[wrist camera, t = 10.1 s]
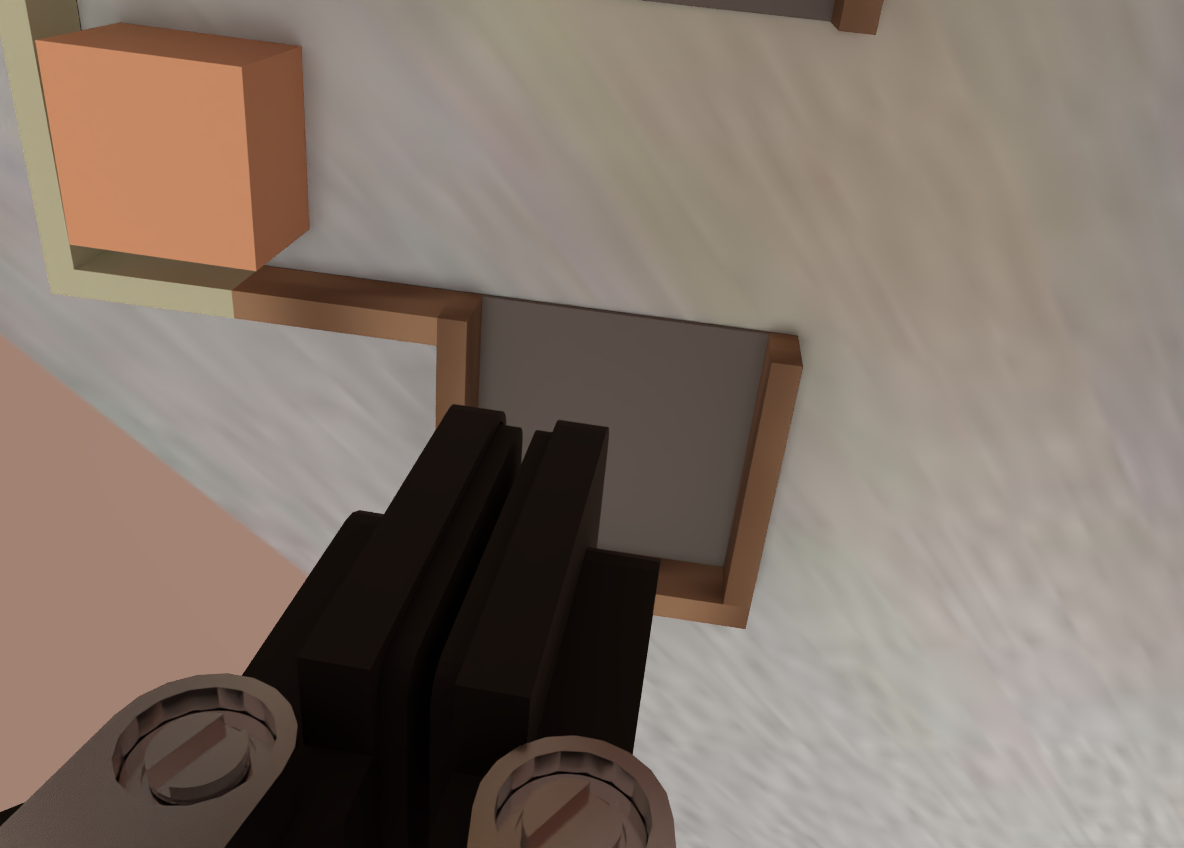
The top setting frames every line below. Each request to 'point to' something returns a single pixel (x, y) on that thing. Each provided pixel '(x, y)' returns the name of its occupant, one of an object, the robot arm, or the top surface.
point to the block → (178, 142)
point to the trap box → (513, 356)
